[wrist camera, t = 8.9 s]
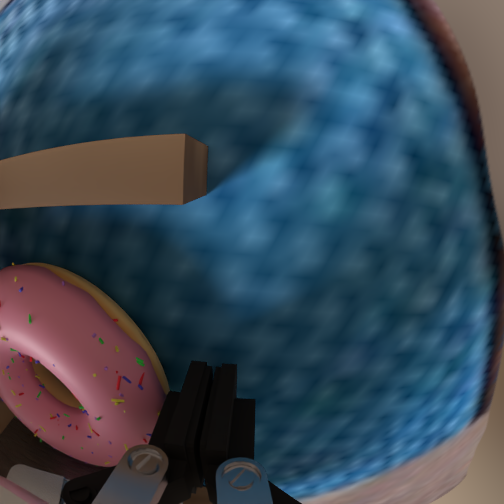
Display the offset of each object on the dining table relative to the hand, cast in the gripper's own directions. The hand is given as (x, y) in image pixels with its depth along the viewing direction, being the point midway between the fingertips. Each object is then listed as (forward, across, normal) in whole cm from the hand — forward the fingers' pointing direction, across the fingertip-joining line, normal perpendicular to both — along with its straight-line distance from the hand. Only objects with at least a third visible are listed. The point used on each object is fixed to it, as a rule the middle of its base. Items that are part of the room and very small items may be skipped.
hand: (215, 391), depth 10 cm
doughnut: (+2, +7, +1) cm, 7 cm away
